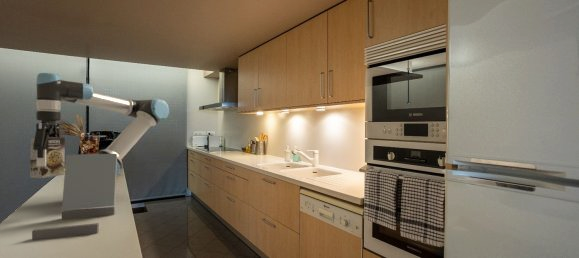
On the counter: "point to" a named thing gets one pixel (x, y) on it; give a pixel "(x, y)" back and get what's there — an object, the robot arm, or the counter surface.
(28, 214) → the counter surface
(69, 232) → the rails
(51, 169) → the coffee box
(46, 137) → the robot arm
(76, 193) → the panel
